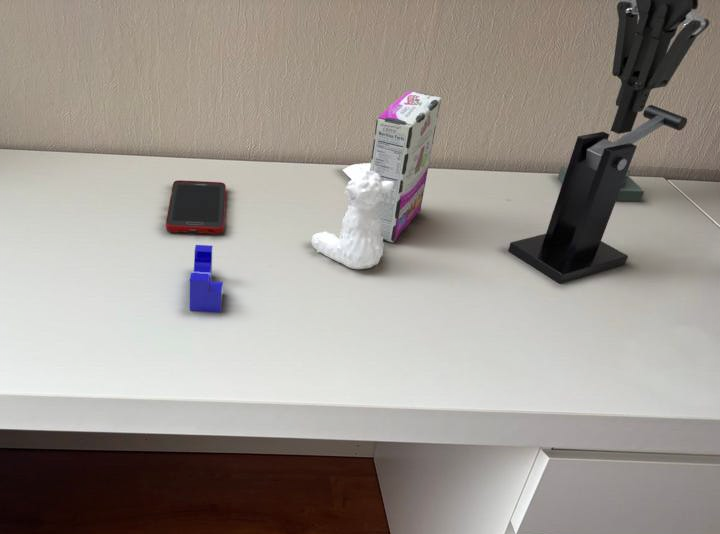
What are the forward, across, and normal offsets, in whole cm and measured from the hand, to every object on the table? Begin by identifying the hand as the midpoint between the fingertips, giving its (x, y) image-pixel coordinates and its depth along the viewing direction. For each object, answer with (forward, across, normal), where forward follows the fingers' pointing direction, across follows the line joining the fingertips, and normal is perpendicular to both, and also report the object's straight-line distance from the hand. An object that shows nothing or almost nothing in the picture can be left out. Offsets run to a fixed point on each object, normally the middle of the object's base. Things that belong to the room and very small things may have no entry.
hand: (620, 130), depth 111 cm
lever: (-5, +14, -17) cm, 23 cm away
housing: (+9, 0, 0) cm, 9 cm away
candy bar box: (+9, -3, -38) cm, 39 cm away
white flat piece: (+9, -13, -33) cm, 37 cm away
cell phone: (+9, -17, -61) cm, 64 cm away
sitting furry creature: (+9, +3, -48) cm, 49 cm away
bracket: (+9, +14, -22) cm, 28 cm away
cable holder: (+9, +3, -69) cm, 70 cm away
